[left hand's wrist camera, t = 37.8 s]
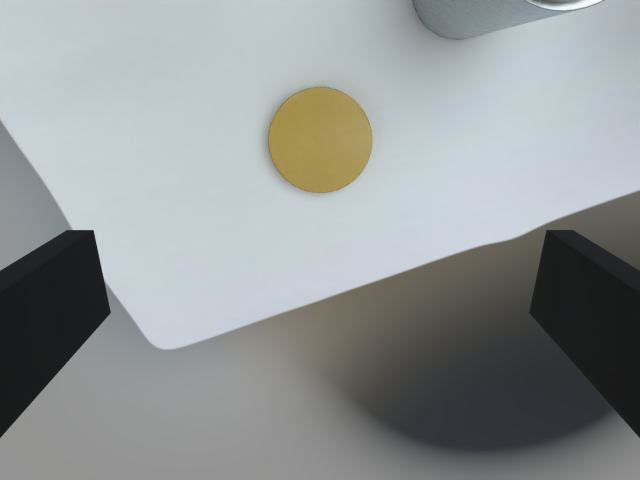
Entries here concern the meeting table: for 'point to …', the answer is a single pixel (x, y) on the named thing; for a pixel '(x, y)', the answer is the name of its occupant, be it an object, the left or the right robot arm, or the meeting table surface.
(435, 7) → the jar
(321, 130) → the lid
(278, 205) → the meeting table surface
